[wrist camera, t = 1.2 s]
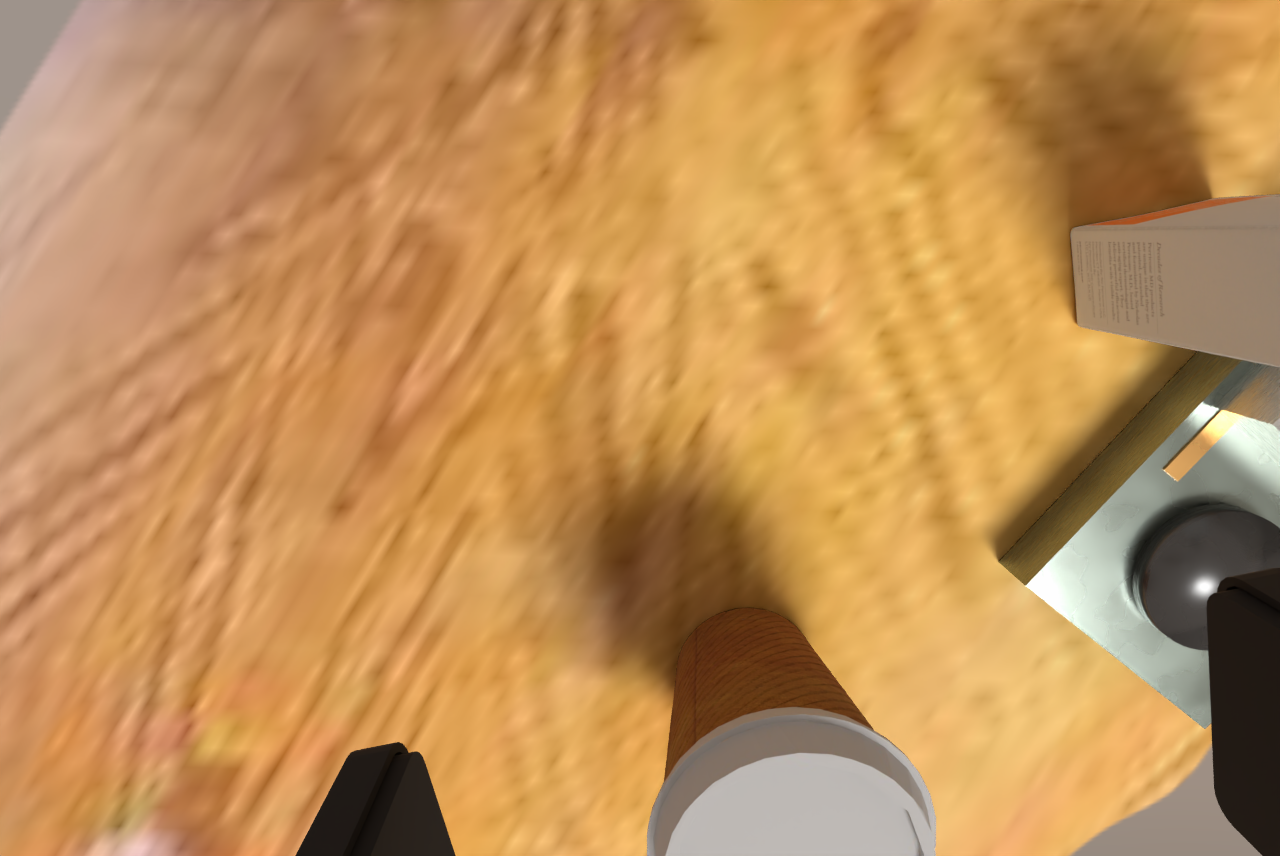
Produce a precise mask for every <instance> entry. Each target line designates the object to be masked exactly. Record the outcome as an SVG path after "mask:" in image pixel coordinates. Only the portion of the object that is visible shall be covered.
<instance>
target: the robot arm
mask: <svg viewBox="0 0 1280 856" xmlns="http://www.w3.org/2000/svg"><path fill="white" fill-rule="evenodd" d="M1206 610H1207V633H1208V656H1209V679H1210V702H1211V725H1212V748H1213V769H1214V770H1213V772H1214V789H1215V795H1216V798H1217V801H1218V803H1219V805H1220V807H1221V810H1222V812H1223V813H1224V815H1225V816H1226V818H1227V819H1228V821H1229V822H1230V823H1231V824H1232V825H1233V827H1234V828H1236V830H1237V831H1239V832H1240V833H1241V835H1243V837H1245V838H1246V840H1247V841H1248V842H1250V844H1252V845H1253V847H1254V848H1256V850H1257V851H1258V852H1260V854H1262V856H1280V568H1271V569H1266V570H1261V571H1256V572H1251V573H1246V574H1241V575H1236V576H1231V577H1226V578H1225V579H1223V580H1222V581H1221V582H1220V584H1219V586H1218V588H1217V593H1213V594H1212V595H1210V596H1209V598H1208V600H1207V607H1206ZM296 856H455V853H454V850H453V847H452V844H451V841H450V838H449V835H448V832H447V828H446V825H445V822H444V819H443V816H442V813H441V810H440V807H439V804H438V801H437V798H436V795H435V792H434V789H433V786H432V783H431V780H430V777H429V773H428V770H427V767H426V764H425V762H424V759H423V757H422V755H421V754H420V753H419V752H411V753H408V751H407V749H406V747H405V746H404V745H403V744H402V743H399V742H397V743H392V744H386V745H381V746H376V747H371V748H366V749H361V750H356V751H354V752H351V753H350V755H349V756H348V757H347V759H346V761H345V762H344V764H343V766H342V768H341V770H340V772H339V774H338V776H337V778H336V780H335V781H334V783H333V785H332V787H331V789H330V791H329V793H328V795H327V797H326V799H325V801H324V802H323V804H322V806H321V808H320V810H319V812H318V814H317V816H316V818H315V820H314V821H313V823H312V825H311V827H310V829H309V831H308V833H307V835H306V837H305V839H304V840H303V842H302V844H301V846H300V848H299V850H298V852H297V854H296Z"/></svg>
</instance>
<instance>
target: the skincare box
mask: <svg viewBox="0 0 1280 856" xmlns="http://www.w3.org/2000/svg"><path fill="white" fill-rule="evenodd" d="M1070 237H1071V248H1072V259H1073V272H1074V284H1075V297H1076V313H1077V324H1078V326H1079V327H1083V328H1087V329H1092V330H1097V331H1102V332H1107V333H1112V334H1117V335H1123V336H1127V337H1132V338H1137V339H1142V340H1147V341H1152V342H1157V343H1161V344H1166V345H1171V346H1175V347H1181V348H1186V349H1191V350H1196V351H1201V352H1206V353H1210V354H1215V355H1220V356H1225V357H1230V358H1235V359H1240V360H1245V361H1250V362H1254V363H1260V364H1265V365H1270V366H1275V367H1280V194H1276V195H1257V196H1241V197H1224V198H1213V199H1209V200H1205V201H1201V202H1197V203H1192V204H1188V205H1183V206H1179V207H1174V208H1170V209H1165V210H1161V211H1157V212H1152V213H1148V214H1143V215H1138V216H1133V217H1127V218H1121V219H1116V220H1111V221H1105V222H1100V223H1095V224H1089V225H1084V226H1078V227H1074V228H1073V229H1072V230H1071V233H1070Z"/></svg>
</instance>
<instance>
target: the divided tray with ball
mask: <svg viewBox="0 0 1280 856" xmlns="http://www.w3.org/2000/svg"><path fill="white" fill-rule="evenodd" d="M999 563H1000V564H1002V565H1003V566H1004V567H1005V568H1006V569H1007V570H1008V571H1009V572H1011V573H1012V574H1013V575H1014V576H1015V577H1016V578H1017V579H1018V580H1020V581H1021V582H1022V583H1023V584H1024V585H1025V586H1026V587H1028V588H1029V589H1030V590H1031V591H1033V592H1034V593H1035V594H1036V595H1038V596H1039V597H1040V598H1041V599H1043V600H1044V601H1045V602H1046V603H1048V604H1049V605H1050V606H1051V607H1053V608H1054V609H1055V610H1057V611H1058V612H1059V613H1060V614H1062V615H1063V616H1064V617H1065V618H1067V619H1068V620H1069V621H1070V622H1072V623H1073V624H1074V625H1075V626H1077V627H1078V628H1079V629H1080V630H1082V631H1083V632H1084V633H1085V634H1087V635H1088V636H1089V637H1090V638H1092V639H1093V640H1094V641H1095V642H1097V643H1098V644H1099V645H1100V646H1102V647H1103V648H1104V649H1105V650H1107V651H1108V652H1109V653H1110V654H1112V655H1113V656H1114V657H1115V658H1117V659H1118V660H1119V661H1120V662H1122V663H1123V664H1124V665H1125V666H1127V667H1128V668H1129V669H1130V670H1132V671H1133V672H1134V673H1135V674H1137V675H1138V676H1139V677H1140V678H1142V679H1143V680H1144V681H1146V682H1147V683H1148V684H1149V685H1151V686H1152V687H1153V688H1154V689H1156V690H1157V691H1158V692H1159V693H1161V694H1162V695H1163V696H1164V697H1166V698H1167V699H1168V700H1169V701H1171V702H1172V703H1173V704H1174V705H1176V706H1177V707H1178V708H1179V709H1181V710H1182V711H1183V712H1184V713H1186V714H1187V715H1188V716H1189V717H1191V718H1192V719H1193V720H1194V721H1196V722H1197V723H1198V724H1199V725H1201V726H1202V727H1203V728H1204V729H1205V728H1206V727H1208V726H1209V725H1210V724H1211V702H1210V679H1209V656H1208V633H1207V610H1206V607H1207V600H1208V598H1209V596H1210V595H1212V594H1213V593H1217V588H1218V586H1219V584H1220V582H1221V581H1222V580H1223V579H1225V578H1226V577H1231V576H1236V575H1241V574H1246V573H1251V572H1256V571H1261V570H1266V569H1271V568H1280V367H1275V366H1270V365H1265V364H1260V363H1254V362H1250V361H1245V360H1240V359H1235V358H1230V357H1225V356H1220V355H1215V354H1210V353H1206V352H1201V351H1197V352H1196V354H1195V355H1194V356H1193V357H1192V358H1191V359H1190V360H1189V361H1188V362H1187V363H1186V364H1185V365H1184V366H1183V367H1182V368H1181V369H1180V370H1179V371H1178V373H1177V374H1176V375H1175V376H1174V377H1173V378H1172V379H1171V380H1170V381H1169V382H1168V383H1167V384H1166V385H1165V386H1164V387H1163V388H1162V389H1161V391H1160V392H1159V393H1158V394H1157V395H1156V396H1155V397H1154V398H1153V399H1152V400H1151V401H1150V402H1149V403H1148V404H1147V405H1146V406H1145V407H1144V409H1143V410H1142V411H1141V412H1140V413H1139V414H1138V415H1137V416H1136V417H1135V418H1134V419H1133V420H1132V421H1131V422H1130V423H1129V424H1128V425H1127V427H1126V428H1125V429H1124V430H1123V431H1122V432H1121V433H1120V434H1119V435H1118V436H1117V437H1116V438H1115V439H1114V440H1113V441H1112V442H1111V443H1110V444H1109V446H1108V447H1107V448H1106V449H1105V450H1104V451H1103V452H1102V453H1101V454H1100V455H1099V456H1098V457H1097V458H1096V459H1095V460H1094V461H1093V462H1092V464H1091V465H1090V466H1089V467H1088V468H1087V469H1086V470H1085V471H1084V472H1083V473H1082V474H1081V475H1080V476H1079V477H1078V478H1077V479H1076V480H1075V482H1074V483H1073V484H1072V485H1071V486H1070V487H1069V488H1068V489H1067V490H1066V491H1065V492H1064V493H1063V494H1062V495H1061V496H1060V497H1059V498H1058V499H1057V501H1056V502H1055V503H1054V504H1053V505H1052V506H1051V507H1050V508H1049V509H1048V510H1047V511H1046V512H1045V513H1044V514H1043V515H1042V516H1041V517H1040V519H1039V520H1038V521H1037V522H1036V523H1035V524H1034V525H1033V526H1032V527H1031V528H1030V529H1029V530H1028V531H1027V532H1026V533H1025V534H1024V535H1023V537H1022V538H1021V539H1020V540H1019V541H1018V542H1017V543H1016V544H1015V545H1014V546H1013V547H1012V548H1011V549H1010V550H1009V551H1008V552H1007V553H1006V555H1005V556H1004V557H1003V558H1002V559H1001V560H1000V561H999Z"/></svg>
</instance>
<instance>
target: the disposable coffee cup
mask: <svg viewBox="0 0 1280 856" xmlns="http://www.w3.org/2000/svg"><path fill="white" fill-rule="evenodd" d="M935 847H936V816H935V812H934V808H933V804H932V800H931V796H930V793H929V791H928V789H927V787H926V785H925V783H924V781H923V779H922V777H921V775H920V773H919V772H918V771H917V769H916V768H915V767H914V766H913V764H912V763H911V762H910V760H909V759H908V758H907V757H906V755H905V754H904V753H903V752H902V751H901V750H900V749H898V748H897V747H896V746H895V745H894V744H893V743H891V742H890V741H889V740H888V739H887V738H885V737H884V736H882V735H880V734H879V733H877V732H875V731H874V730H873V728H872V727H871V725H870V724H869V723H868V722H867V720H866V718H865V717H864V716H863V715H862V714H861V712H860V711H859V709H858V708H857V707H856V705H855V704H854V703H853V701H852V700H851V699H850V697H849V696H848V695H847V694H846V691H845V690H844V689H843V688H842V686H841V685H840V684H839V683H838V681H837V680H836V678H835V677H834V676H833V675H832V673H831V672H830V670H829V669H828V668H827V667H826V665H825V664H824V663H823V661H822V660H821V659H820V657H819V656H818V655H817V653H816V652H815V651H814V649H813V648H812V647H811V645H810V644H809V643H808V641H807V640H806V638H805V637H804V635H803V634H802V633H801V632H800V630H799V629H798V628H797V627H796V626H795V625H794V624H792V623H791V622H790V621H789V620H787V619H786V618H784V617H782V616H780V615H778V614H776V613H773V612H770V611H767V610H763V609H755V608H741V609H734V610H730V611H726V612H723V613H720V614H718V615H715V616H713V617H711V618H709V619H708V620H706V621H705V622H704V623H702V624H701V625H699V626H698V627H697V629H696V630H695V631H694V632H693V633H692V634H691V635H690V636H689V637H688V639H687V640H686V642H685V643H684V645H683V647H682V650H681V652H680V655H679V657H678V663H677V669H676V682H675V690H674V699H673V708H672V716H671V724H670V733H669V742H668V752H667V760H666V768H665V777H664V783H663V785H662V787H661V789H660V792H659V794H658V796H657V798H656V801H655V803H654V805H653V807H652V812H651V816H650V821H649V825H648V832H647V856H936V854H935Z"/></svg>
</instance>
